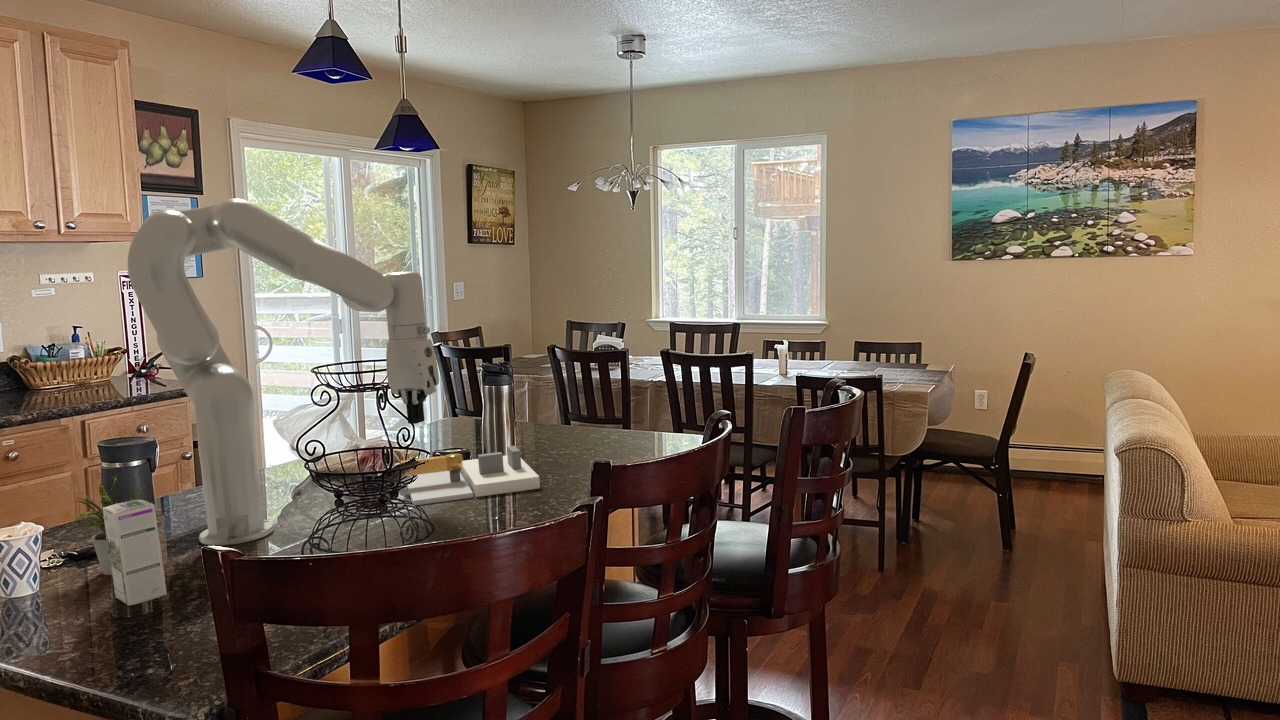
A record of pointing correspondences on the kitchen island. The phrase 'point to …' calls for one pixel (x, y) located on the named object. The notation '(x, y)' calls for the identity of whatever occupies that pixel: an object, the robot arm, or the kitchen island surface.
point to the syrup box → (134, 551)
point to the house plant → (100, 526)
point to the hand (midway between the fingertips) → (416, 422)
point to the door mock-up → (476, 479)
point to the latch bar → (437, 464)
